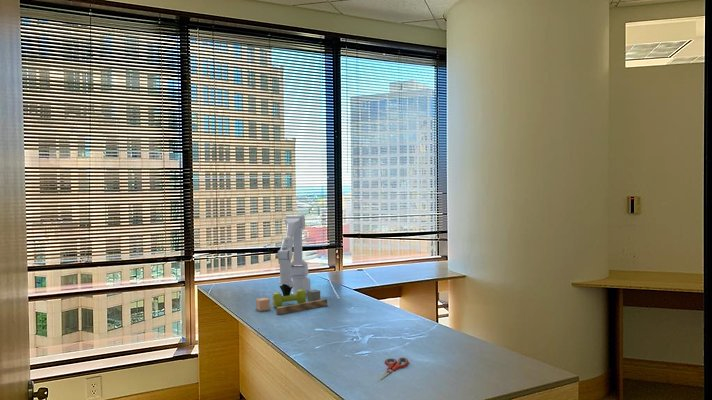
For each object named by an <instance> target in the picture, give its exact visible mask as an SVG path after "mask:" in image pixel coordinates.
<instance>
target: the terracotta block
mask: <svg viewBox="0 0 712 400" xmlns="http://www.w3.org/2000/svg"><path fill="white" fill-rule="evenodd" d="M270 300H271V299H270V298H267V297H261V298H255V306H256V307H255V310H257V311H260V312H263V310H264V311H267V310H268V309H269V310H270V309H271V305H270V303H271V301H270Z"/></svg>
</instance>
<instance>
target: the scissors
mask: <svg viewBox="0 0 712 400" xmlns="http://www.w3.org/2000/svg"><path fill="white" fill-rule="evenodd" d="M402 362H404V363H403V364H402ZM384 364H385V366H387V368H386V371H385V372H384V374H383V375H382V376H380V377H379V379H378V380H377V383H379V382H380V381H382V380H383V379H385V378H386V377H388V376H389V375H390V374H392V373H393V372H396V371H397V370H399V369H404V368H406V367H407V366H408V364H409V360H408V358H407V357H399V358H398V361H397V359H395V358H392V357H391V358H387V359H385V360H384Z"/></svg>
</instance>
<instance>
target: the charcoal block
mask: <svg viewBox="0 0 712 400" xmlns="http://www.w3.org/2000/svg"><path fill="white" fill-rule="evenodd" d="M306 300H307V302H310V301H316V300H322V298H321V290H318V289H311V290H309V291H307V294H306Z"/></svg>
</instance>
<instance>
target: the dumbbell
mask: <svg viewBox="0 0 712 400" xmlns="http://www.w3.org/2000/svg"><path fill="white" fill-rule="evenodd" d="M293 301H294V302H297V304H299V303H304V302H307V294H306V293H305V291H304V290H303V289H299V290H298V291H297V293H296V294H295V295H293V294H290V295H288V296H283V294H282V293H280V292H273V294H272V305H273V307H274V308H275V309H277V307H282V306H283V304H284V303H288V302H293Z"/></svg>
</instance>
